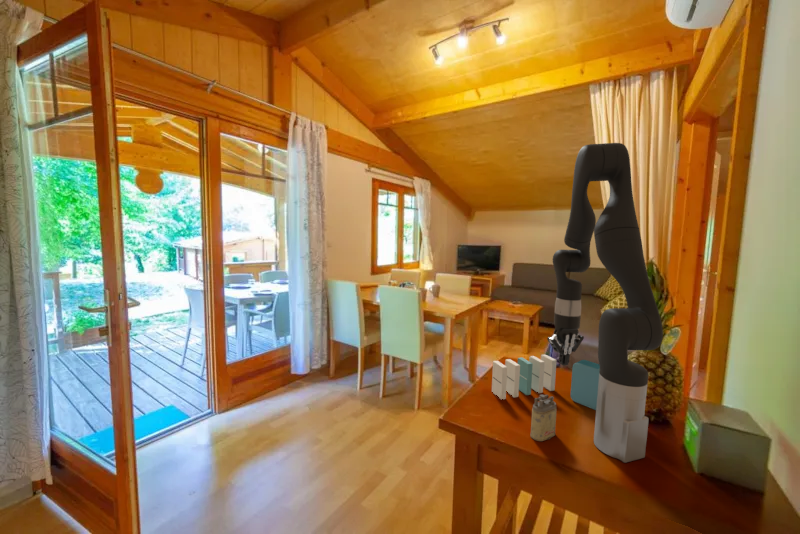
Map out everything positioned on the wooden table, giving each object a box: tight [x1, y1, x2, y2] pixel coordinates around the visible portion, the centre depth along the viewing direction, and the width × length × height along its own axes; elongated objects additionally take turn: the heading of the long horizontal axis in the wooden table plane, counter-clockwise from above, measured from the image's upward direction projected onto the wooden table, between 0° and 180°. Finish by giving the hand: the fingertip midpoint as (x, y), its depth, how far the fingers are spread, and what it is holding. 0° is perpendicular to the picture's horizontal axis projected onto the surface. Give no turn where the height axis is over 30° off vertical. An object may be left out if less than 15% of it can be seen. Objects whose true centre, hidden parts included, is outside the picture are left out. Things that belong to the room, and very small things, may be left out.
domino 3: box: [516, 356, 533, 396], centre depth 105 cm, size 2×5×10 cm, turn 18°
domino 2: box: [504, 358, 520, 398], centre depth 104 cm, size 2×5×10 cm, turn 18°
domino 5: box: [540, 354, 557, 392], centre depth 108 cm, size 2×5×10 cm, turn 18°
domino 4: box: [528, 355, 545, 394], centre depth 107 cm, size 2×5×10 cm, turn 18°
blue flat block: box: [570, 359, 600, 411], centre depth 97 cm, size 12×4×12 cm, turn 38°
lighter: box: [530, 394, 558, 442], centre depth 83 cm, size 7×4×10 cm, turn 120°
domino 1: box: [491, 360, 507, 400], centre depth 103 cm, size 2×5×10 cm, turn 18°
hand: (563, 364), depth 110 cm, fingers closed
